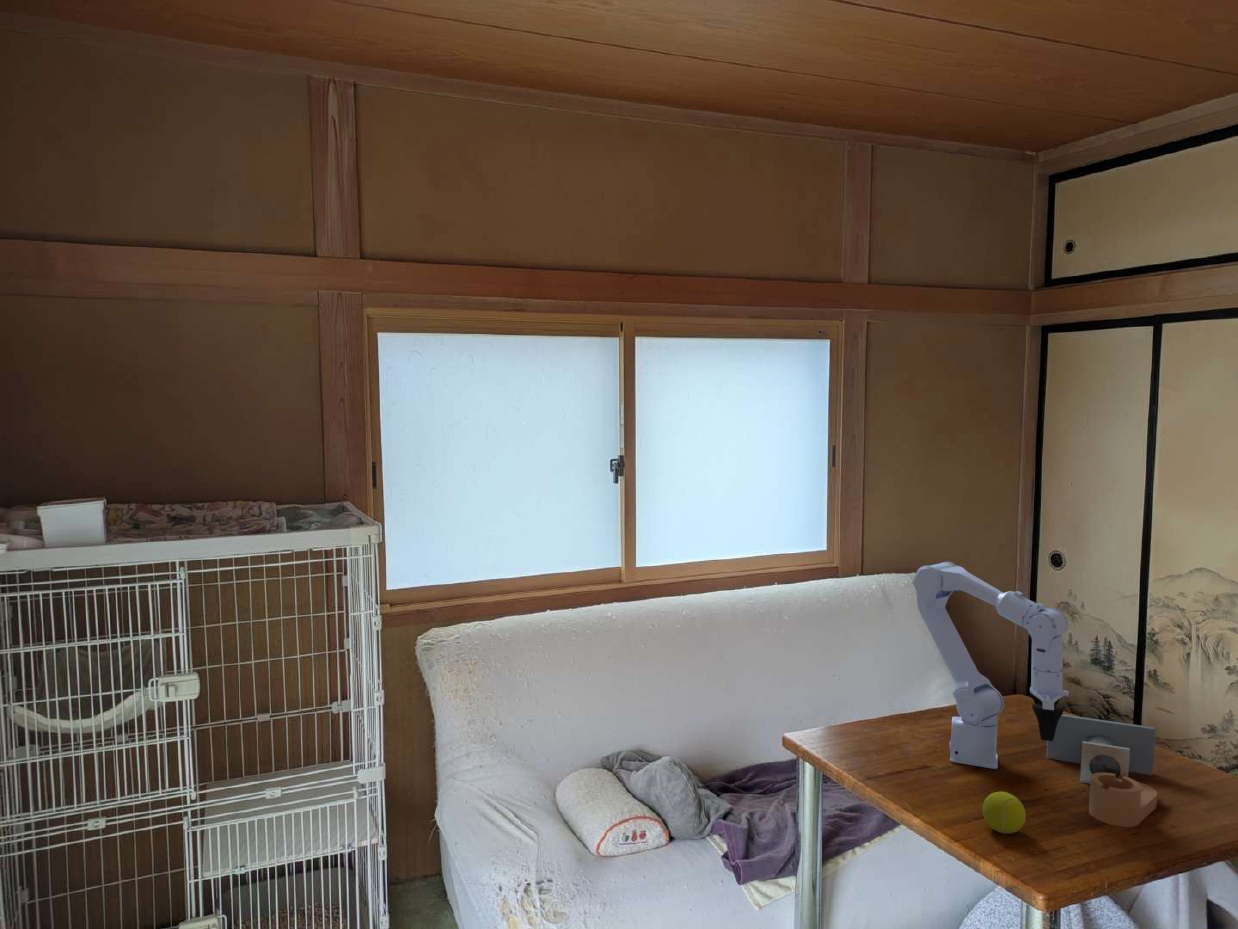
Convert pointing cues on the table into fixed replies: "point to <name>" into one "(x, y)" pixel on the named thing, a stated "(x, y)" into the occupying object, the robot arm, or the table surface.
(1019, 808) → the tennis ball
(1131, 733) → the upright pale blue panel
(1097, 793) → the bracket
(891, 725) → the table surface
